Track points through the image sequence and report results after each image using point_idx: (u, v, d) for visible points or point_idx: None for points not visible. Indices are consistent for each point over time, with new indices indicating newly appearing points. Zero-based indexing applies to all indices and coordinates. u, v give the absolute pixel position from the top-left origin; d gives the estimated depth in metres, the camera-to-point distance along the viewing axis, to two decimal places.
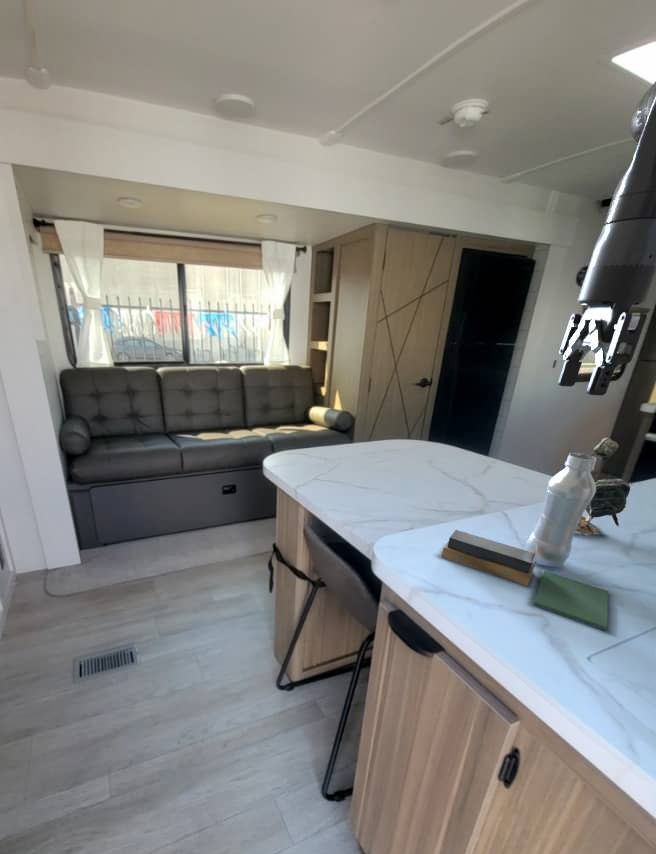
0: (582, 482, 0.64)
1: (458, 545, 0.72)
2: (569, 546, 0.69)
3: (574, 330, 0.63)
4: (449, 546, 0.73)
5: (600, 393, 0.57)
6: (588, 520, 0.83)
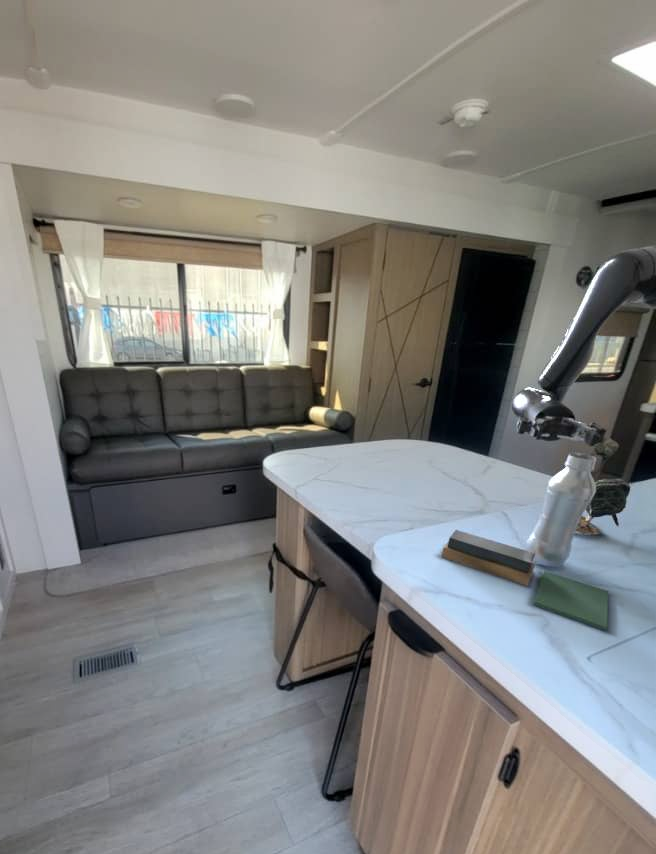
0: (582, 482, 0.64)
1: (458, 545, 0.72)
2: (569, 546, 0.69)
3: None
4: (449, 546, 0.73)
5: (538, 431, 0.76)
6: (588, 520, 0.83)
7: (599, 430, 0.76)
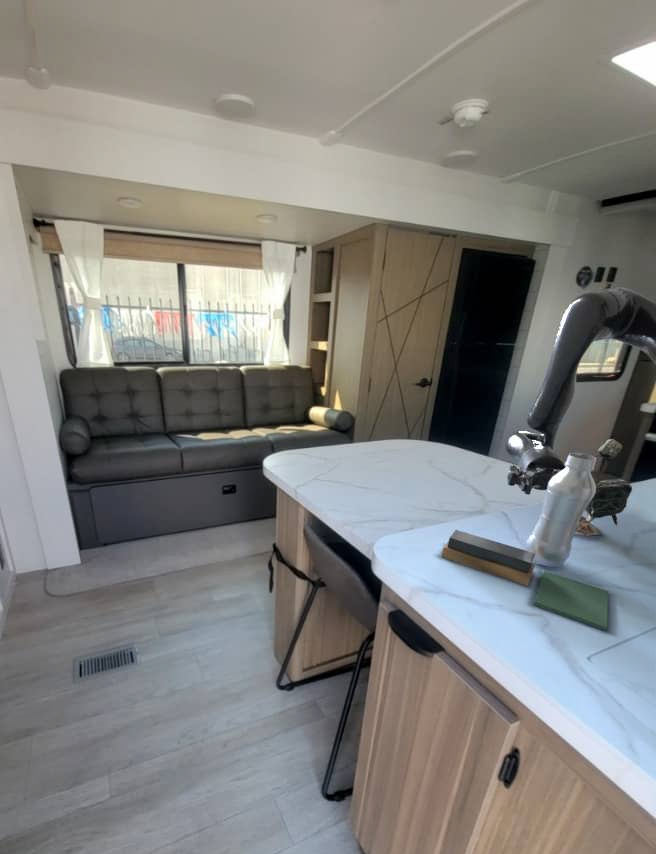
0: (582, 482, 0.64)
1: (458, 545, 0.72)
2: (569, 546, 0.69)
3: None
4: (449, 546, 0.73)
5: (527, 486, 0.76)
6: (589, 520, 0.83)
7: None
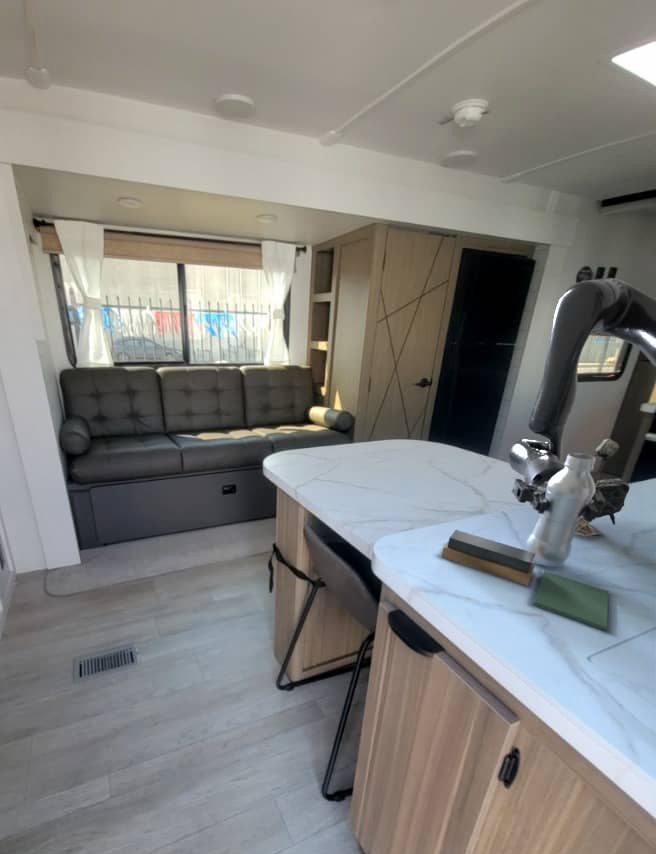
0: (581, 482, 0.64)
1: (458, 545, 0.72)
2: (569, 546, 0.69)
3: None
4: (449, 546, 0.73)
5: (541, 505, 0.68)
6: None
7: (597, 501, 0.69)
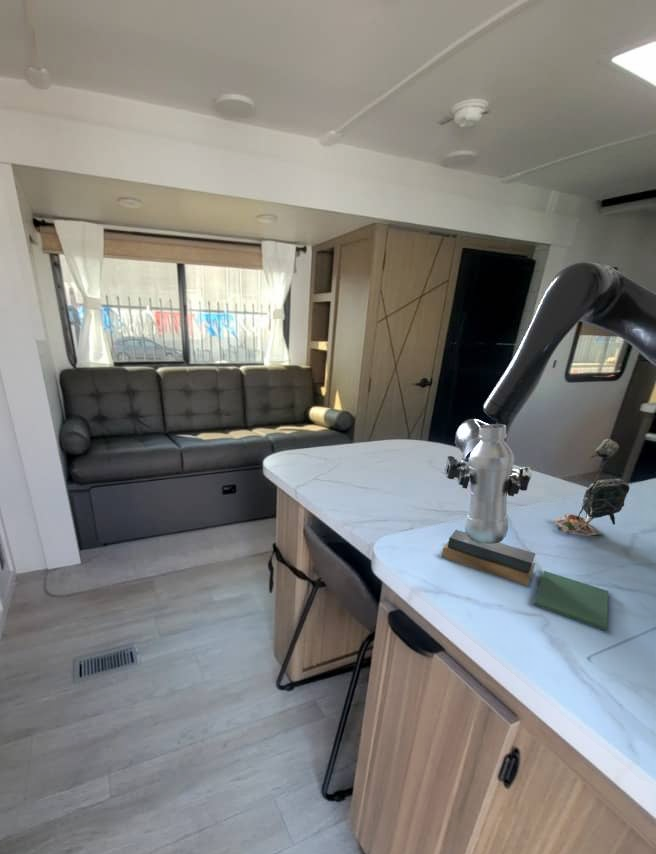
0: (495, 452, 0.63)
1: (458, 545, 0.72)
2: (503, 520, 0.67)
3: None
4: (449, 546, 0.73)
5: (464, 479, 0.67)
6: (588, 521, 0.83)
7: (522, 476, 0.67)
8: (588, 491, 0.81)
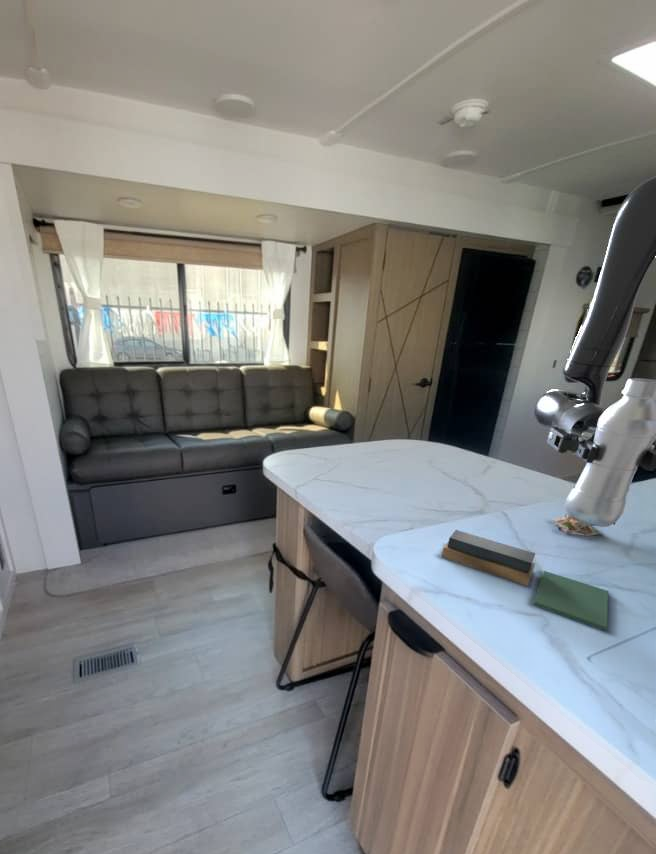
0: (644, 413, 0.50)
1: (458, 545, 0.72)
2: (623, 500, 0.55)
3: None
4: (449, 546, 0.73)
5: (589, 451, 0.54)
6: None
7: None
8: None
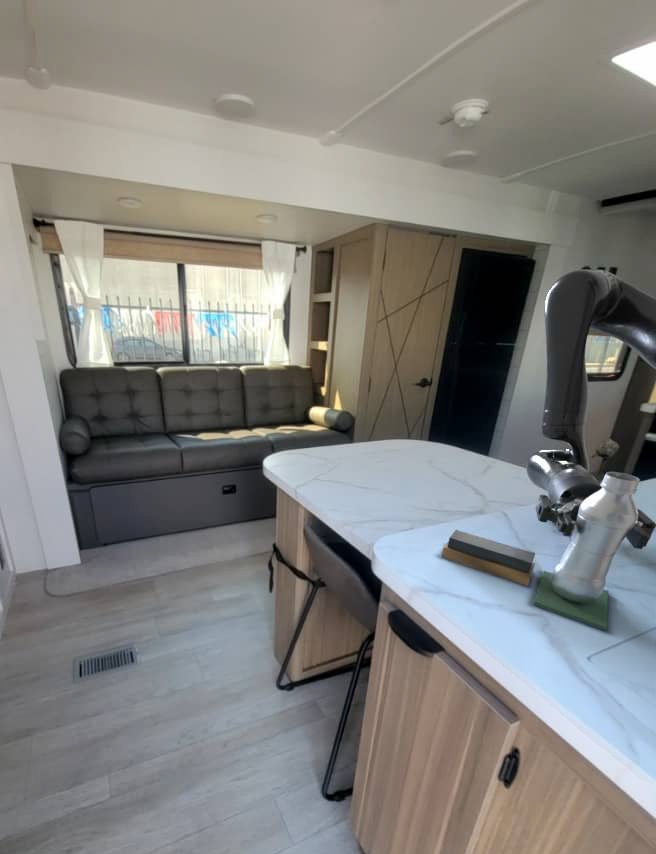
0: (620, 507, 0.54)
1: (458, 545, 0.72)
2: (603, 581, 0.59)
3: None
4: (449, 546, 0.73)
5: (566, 526, 0.59)
6: None
7: (646, 524, 0.59)
8: None
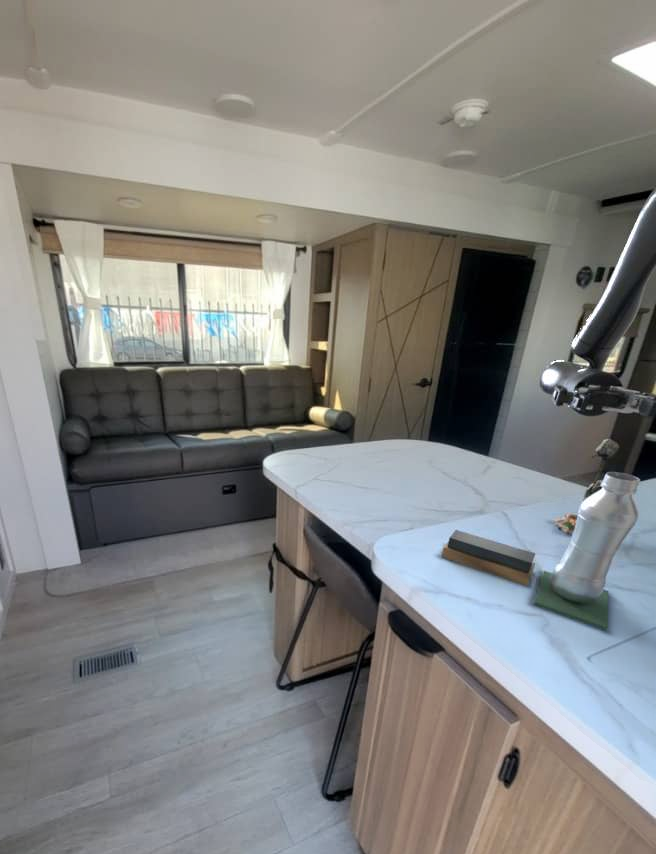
0: (620, 507, 0.54)
1: (458, 545, 0.72)
2: (603, 581, 0.59)
3: None
4: (449, 546, 0.73)
5: (582, 400, 0.62)
6: None
7: None
8: (588, 491, 0.81)
